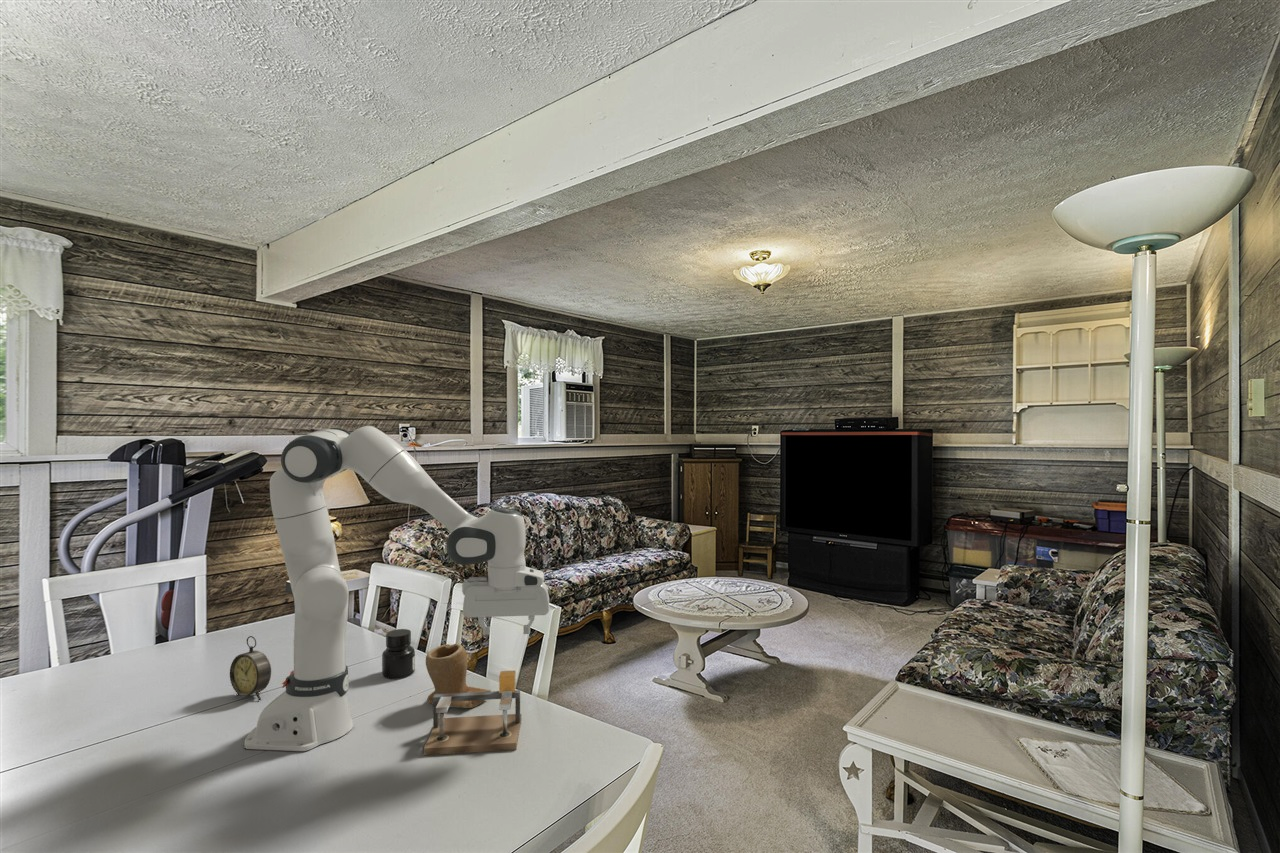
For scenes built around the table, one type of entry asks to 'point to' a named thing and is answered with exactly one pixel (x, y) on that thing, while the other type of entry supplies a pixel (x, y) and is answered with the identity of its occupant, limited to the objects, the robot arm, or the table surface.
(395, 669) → the ink bottle
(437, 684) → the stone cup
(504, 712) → the sliding pointer
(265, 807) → the table surface
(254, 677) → the alarm clock
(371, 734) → the table surface
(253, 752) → the table surface
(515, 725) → the hole plate
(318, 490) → the robot arm
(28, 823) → the table surface
